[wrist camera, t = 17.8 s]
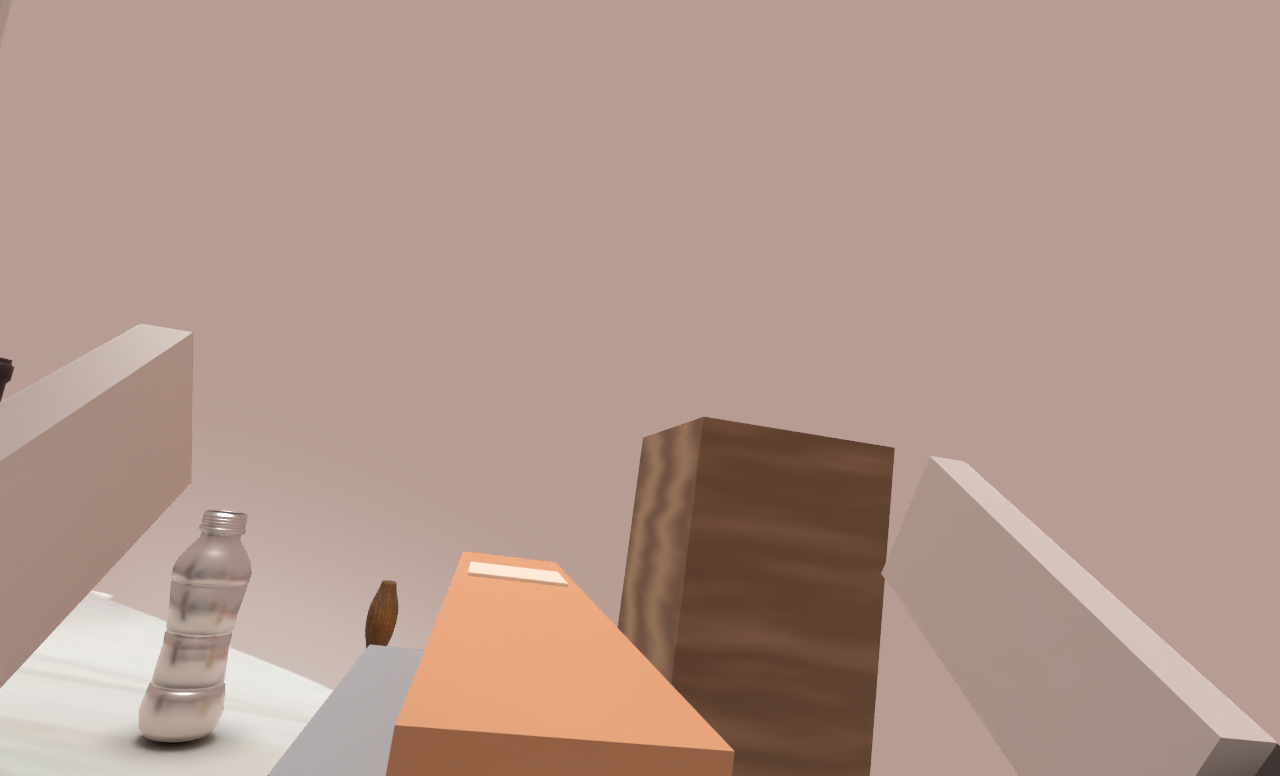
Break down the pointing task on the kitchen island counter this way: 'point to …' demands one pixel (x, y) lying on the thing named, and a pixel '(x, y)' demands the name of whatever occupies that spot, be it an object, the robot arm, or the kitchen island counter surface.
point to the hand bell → (382, 615)
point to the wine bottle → (5, 374)
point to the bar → (541, 688)
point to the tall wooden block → (764, 588)
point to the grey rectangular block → (355, 719)
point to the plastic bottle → (198, 633)
